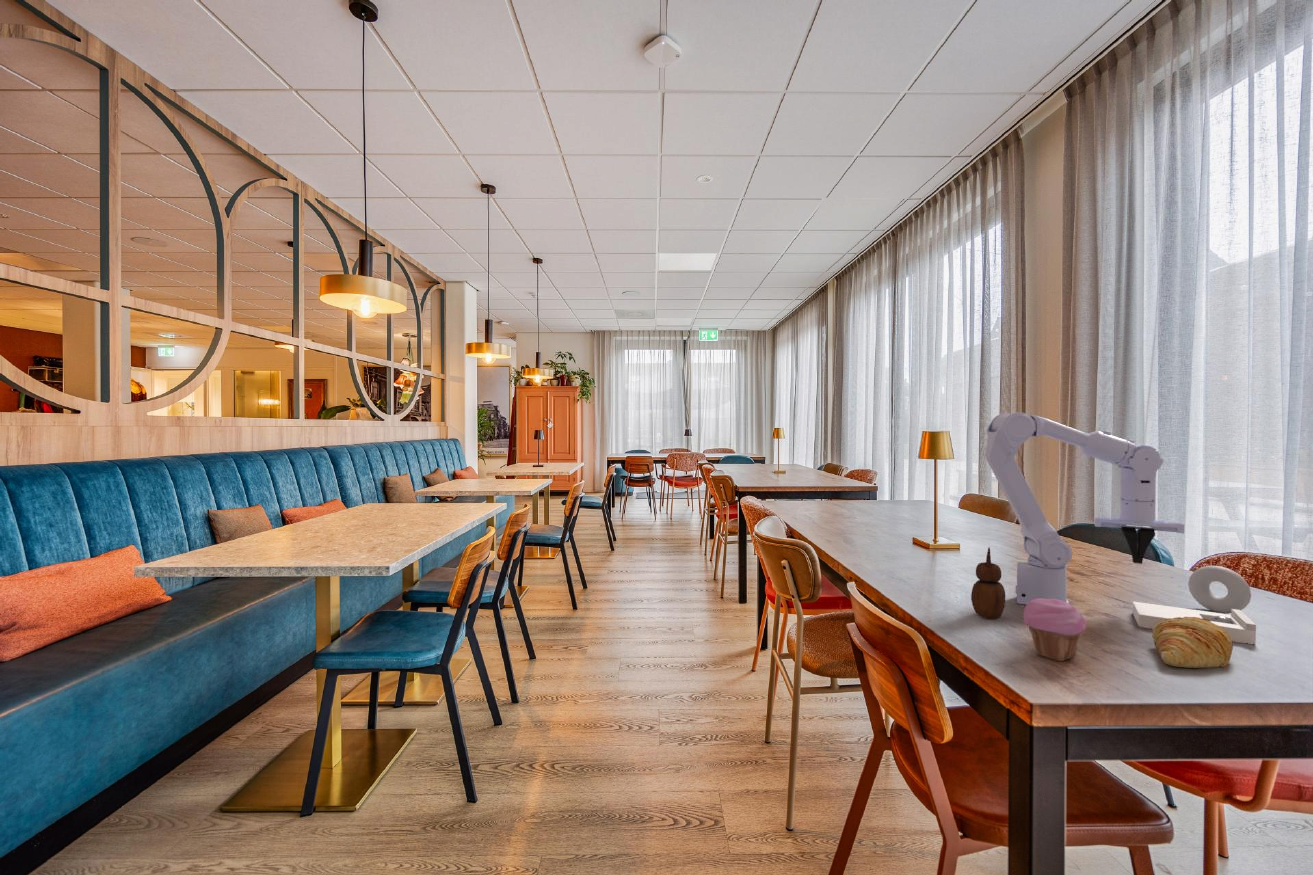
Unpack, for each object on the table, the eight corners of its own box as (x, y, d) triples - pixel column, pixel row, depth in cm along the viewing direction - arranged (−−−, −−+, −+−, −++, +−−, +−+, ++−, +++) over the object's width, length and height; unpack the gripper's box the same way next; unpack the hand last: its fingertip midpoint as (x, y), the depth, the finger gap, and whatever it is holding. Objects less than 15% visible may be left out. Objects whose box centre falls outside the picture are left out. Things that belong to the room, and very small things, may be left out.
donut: (1254, 618, 113) (1255, 570, 113) (1245, 620, 112) (1245, 572, 111) (1193, 604, 122) (1193, 560, 122) (1184, 606, 121) (1184, 561, 121)
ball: (1224, 638, 104) (1207, 624, 105) (1220, 633, 107) (1203, 620, 108) (1241, 628, 103) (1223, 614, 104) (1236, 623, 105) (1219, 610, 107)
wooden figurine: (998, 623, 111) (998, 550, 110) (967, 616, 115) (967, 545, 115) (1009, 616, 115) (1009, 545, 115) (979, 609, 119) (979, 541, 119)
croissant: (1192, 698, 87) (1225, 663, 84) (1122, 650, 94) (1150, 616, 91) (1231, 664, 98) (1262, 632, 95) (1166, 624, 106) (1192, 592, 102)
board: (1139, 626, 109) (1139, 608, 109) (1132, 612, 117) (1132, 595, 117) (1255, 644, 99) (1255, 624, 99) (1239, 628, 107) (1240, 609, 107)
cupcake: (1068, 671, 89) (1069, 610, 89) (1012, 652, 97) (1013, 596, 96) (1095, 659, 93) (1095, 601, 93) (1039, 642, 101) (1040, 588, 101)
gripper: (1096, 499, 119) (1095, 561, 119) (1187, 504, 111) (1187, 571, 111) (1093, 496, 125) (1093, 555, 125) (1180, 501, 117) (1180, 564, 117)
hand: (1137, 562), depth 118 cm, fingers closed
